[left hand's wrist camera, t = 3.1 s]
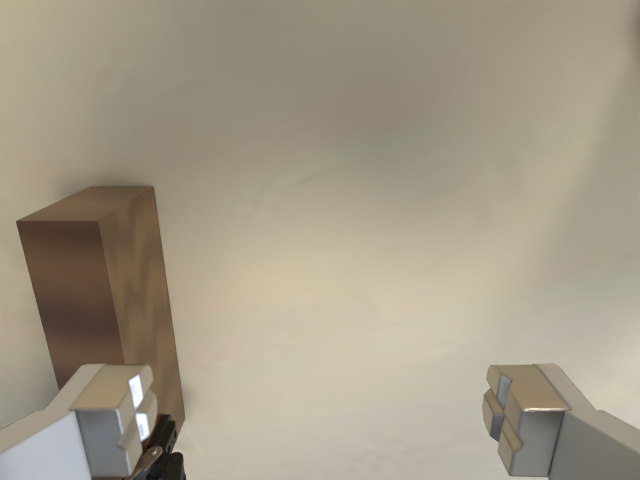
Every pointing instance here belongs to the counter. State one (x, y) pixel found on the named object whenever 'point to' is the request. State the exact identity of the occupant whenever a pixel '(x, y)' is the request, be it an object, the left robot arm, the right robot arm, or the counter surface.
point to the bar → (104, 288)
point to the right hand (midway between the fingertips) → (135, 422)
